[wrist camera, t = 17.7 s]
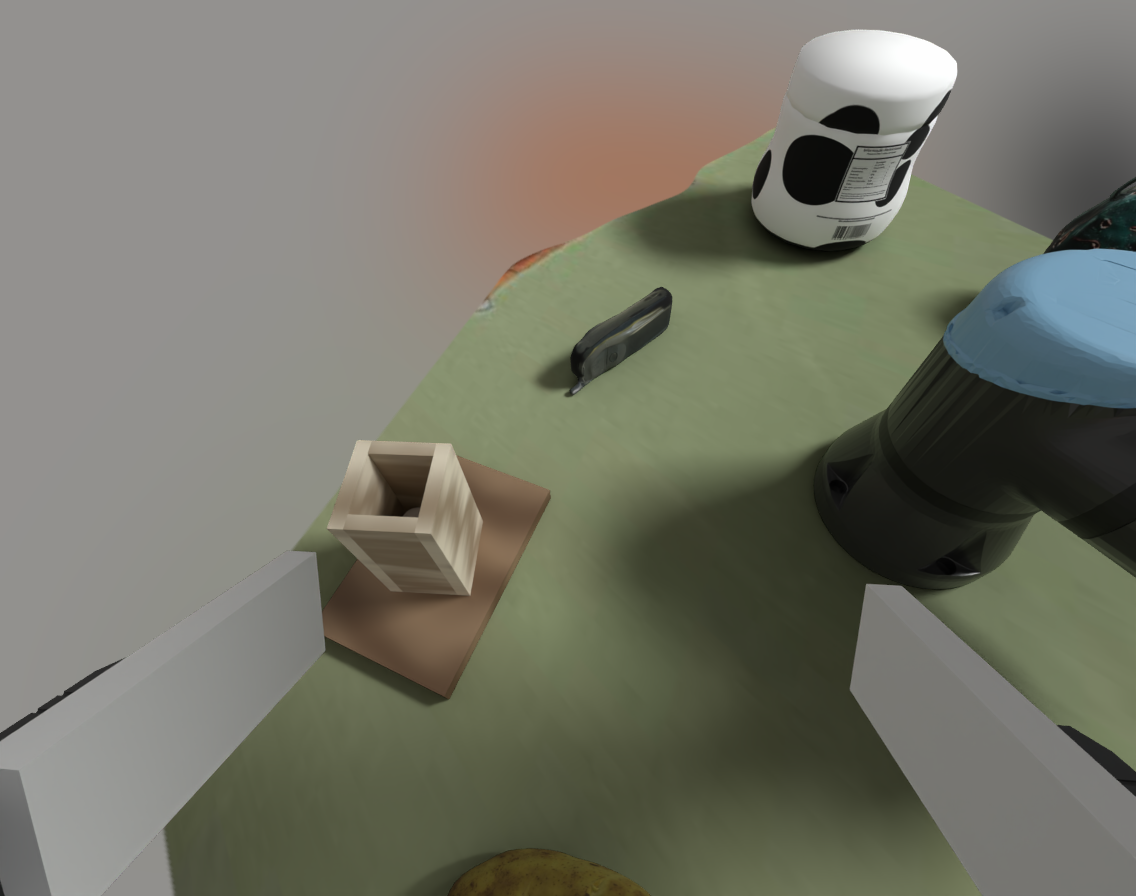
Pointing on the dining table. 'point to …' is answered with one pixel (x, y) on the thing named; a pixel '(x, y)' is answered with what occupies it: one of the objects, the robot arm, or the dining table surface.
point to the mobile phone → (620, 336)
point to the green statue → (1102, 225)
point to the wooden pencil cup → (408, 544)
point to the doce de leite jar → (849, 136)
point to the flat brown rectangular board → (439, 621)
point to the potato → (542, 877)
